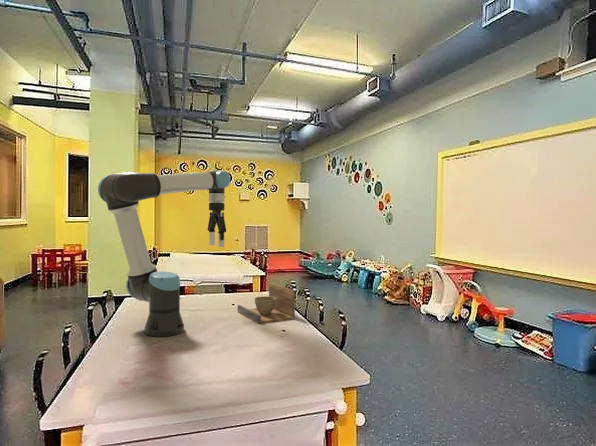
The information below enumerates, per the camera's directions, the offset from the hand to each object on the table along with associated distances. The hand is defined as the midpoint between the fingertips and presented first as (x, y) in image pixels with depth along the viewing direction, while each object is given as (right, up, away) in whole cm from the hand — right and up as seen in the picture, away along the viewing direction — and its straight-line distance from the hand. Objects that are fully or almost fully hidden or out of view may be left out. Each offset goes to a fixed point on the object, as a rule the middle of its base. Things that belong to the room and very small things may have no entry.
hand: (216, 246), depth 202 cm
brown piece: (+24, -32, -8) cm, 41 cm away
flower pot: (+24, -31, -8) cm, 40 cm away
